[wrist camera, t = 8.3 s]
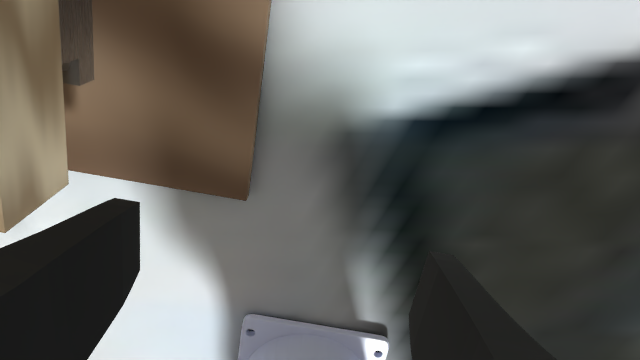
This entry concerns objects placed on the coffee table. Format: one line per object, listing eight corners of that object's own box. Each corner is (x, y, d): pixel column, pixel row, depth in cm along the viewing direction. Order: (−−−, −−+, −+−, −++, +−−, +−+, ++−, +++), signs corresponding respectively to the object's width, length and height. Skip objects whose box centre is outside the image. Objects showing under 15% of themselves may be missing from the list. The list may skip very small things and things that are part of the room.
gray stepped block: (94, 79, 20) (63, 93, 18) (0, 63, 20) (-42, 74, 18) (90, -49, 18) (55, -52, 16) (-14, -68, 18) (-64, -73, 16)
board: (248, 195, 23) (246, 200, 22) (19, 155, 23) (11, 160, 22) (288, -151, 17) (286, -155, 17) (-18, -208, 17) (-30, -214, 16)
